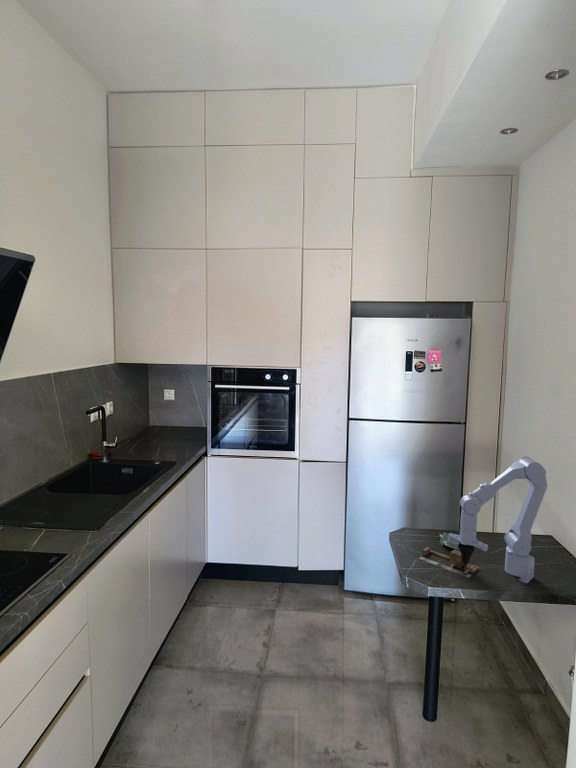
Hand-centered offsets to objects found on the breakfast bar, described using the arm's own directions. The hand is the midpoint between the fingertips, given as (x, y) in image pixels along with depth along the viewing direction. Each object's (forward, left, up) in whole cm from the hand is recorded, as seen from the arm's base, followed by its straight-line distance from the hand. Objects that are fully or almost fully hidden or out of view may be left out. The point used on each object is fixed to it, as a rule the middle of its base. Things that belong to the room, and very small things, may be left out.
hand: (465, 563), depth 180 cm
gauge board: (+6, +1, -3) cm, 7 cm away
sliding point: (+3, +2, -2) cm, 4 cm away
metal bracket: (+12, -17, -4) cm, 22 cm away
